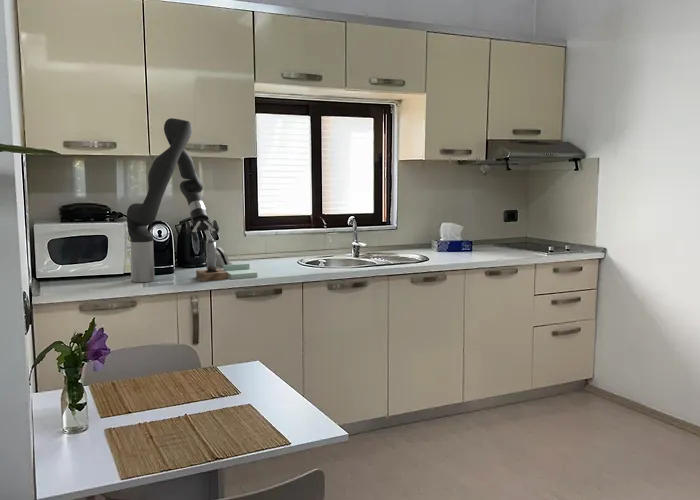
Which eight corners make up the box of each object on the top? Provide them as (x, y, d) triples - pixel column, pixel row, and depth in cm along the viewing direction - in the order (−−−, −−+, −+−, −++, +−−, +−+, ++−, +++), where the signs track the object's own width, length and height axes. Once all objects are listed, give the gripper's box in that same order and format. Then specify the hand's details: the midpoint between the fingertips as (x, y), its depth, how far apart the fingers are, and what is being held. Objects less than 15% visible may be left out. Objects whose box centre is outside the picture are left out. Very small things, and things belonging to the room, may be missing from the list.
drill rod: (208, 279, 276) (207, 240, 274) (206, 277, 280) (205, 239, 277) (217, 278, 278) (216, 239, 276) (215, 277, 282) (214, 238, 279)
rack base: (231, 279, 277) (231, 269, 276) (223, 274, 287) (223, 265, 287) (257, 276, 282) (257, 267, 282) (248, 272, 293) (248, 263, 292)
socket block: (202, 281, 271) (202, 274, 271) (196, 277, 281) (196, 270, 281) (227, 279, 277) (227, 272, 276) (220, 275, 286) (220, 268, 286)
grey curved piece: (233, 267, 308) (226, 248, 306) (224, 270, 307) (217, 252, 304) (225, 262, 323) (218, 244, 321) (216, 265, 322) (209, 247, 319)
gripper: (184, 207, 287) (191, 235, 278) (214, 206, 293) (222, 233, 285) (181, 218, 292) (188, 246, 284) (212, 217, 299) (219, 244, 290)
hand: (205, 239), depth 284 cm, fingers open, 8 cm apart
